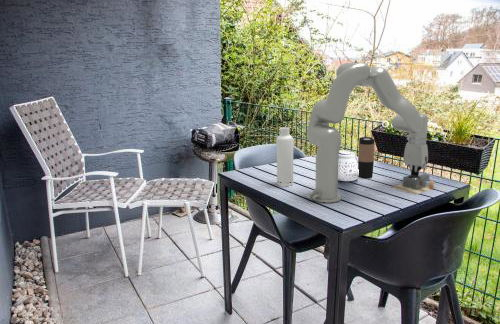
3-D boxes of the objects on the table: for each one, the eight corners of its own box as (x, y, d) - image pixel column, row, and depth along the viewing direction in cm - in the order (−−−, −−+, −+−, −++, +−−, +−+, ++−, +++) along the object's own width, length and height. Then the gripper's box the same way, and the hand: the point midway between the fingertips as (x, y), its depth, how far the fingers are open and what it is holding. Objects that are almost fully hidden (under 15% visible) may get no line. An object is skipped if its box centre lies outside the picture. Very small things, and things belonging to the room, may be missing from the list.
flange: (415, 189, 171) (416, 180, 170) (402, 186, 177) (403, 177, 176) (433, 184, 178) (433, 175, 177) (419, 181, 183) (420, 172, 182)
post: (415, 187, 174) (415, 179, 173) (409, 186, 176) (410, 178, 175) (419, 186, 175) (420, 178, 174) (413, 185, 178) (414, 176, 177)
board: (415, 197, 166) (415, 194, 165) (390, 189, 176) (390, 187, 176) (436, 190, 173) (436, 187, 173) (410, 183, 184) (411, 181, 184)
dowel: (431, 189, 171) (432, 181, 171) (428, 188, 173) (429, 180, 172) (433, 188, 172) (434, 181, 171) (430, 187, 174) (431, 180, 173)
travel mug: (355, 177, 196) (357, 139, 191) (359, 174, 202) (360, 136, 197) (371, 179, 192) (373, 140, 187) (374, 175, 199) (376, 137, 194)
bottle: (292, 187, 185) (292, 129, 178) (275, 186, 186) (275, 129, 179) (294, 182, 192) (293, 126, 185) (278, 181, 194) (277, 126, 187)
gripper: (398, 139, 182) (395, 176, 186) (427, 144, 169) (423, 184, 174) (408, 137, 186) (405, 174, 190) (437, 142, 173) (433, 181, 178)
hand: (414, 178), depth 182 cm, fingers closed
